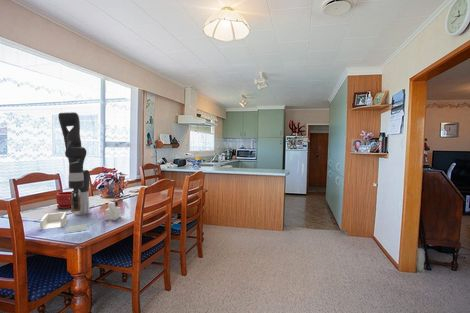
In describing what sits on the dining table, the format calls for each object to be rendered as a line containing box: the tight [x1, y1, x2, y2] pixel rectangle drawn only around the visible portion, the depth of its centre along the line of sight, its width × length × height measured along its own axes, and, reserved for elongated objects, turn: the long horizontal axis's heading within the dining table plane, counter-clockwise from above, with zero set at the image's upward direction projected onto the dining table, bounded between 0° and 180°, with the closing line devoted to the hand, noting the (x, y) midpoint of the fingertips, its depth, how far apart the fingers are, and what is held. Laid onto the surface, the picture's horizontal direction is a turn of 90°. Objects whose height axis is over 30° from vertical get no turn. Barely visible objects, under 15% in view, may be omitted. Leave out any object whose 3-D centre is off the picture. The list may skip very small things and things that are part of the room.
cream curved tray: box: [39, 211, 68, 230], centre depth 145 cm, size 12×16×6 cm
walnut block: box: [70, 195, 81, 213], centre depth 138 cm, size 4×4×9 cm
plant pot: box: [56, 191, 72, 209], centre depth 186 cm, size 13×13×12 cm
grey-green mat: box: [65, 223, 88, 234], centre depth 139 cm, size 10×10×1 cm
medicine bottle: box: [104, 200, 121, 221], centre depth 161 cm, size 7×7×12 cm
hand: (76, 207), depth 139 cm, fingers closed on walnut block, 4 cm apart
